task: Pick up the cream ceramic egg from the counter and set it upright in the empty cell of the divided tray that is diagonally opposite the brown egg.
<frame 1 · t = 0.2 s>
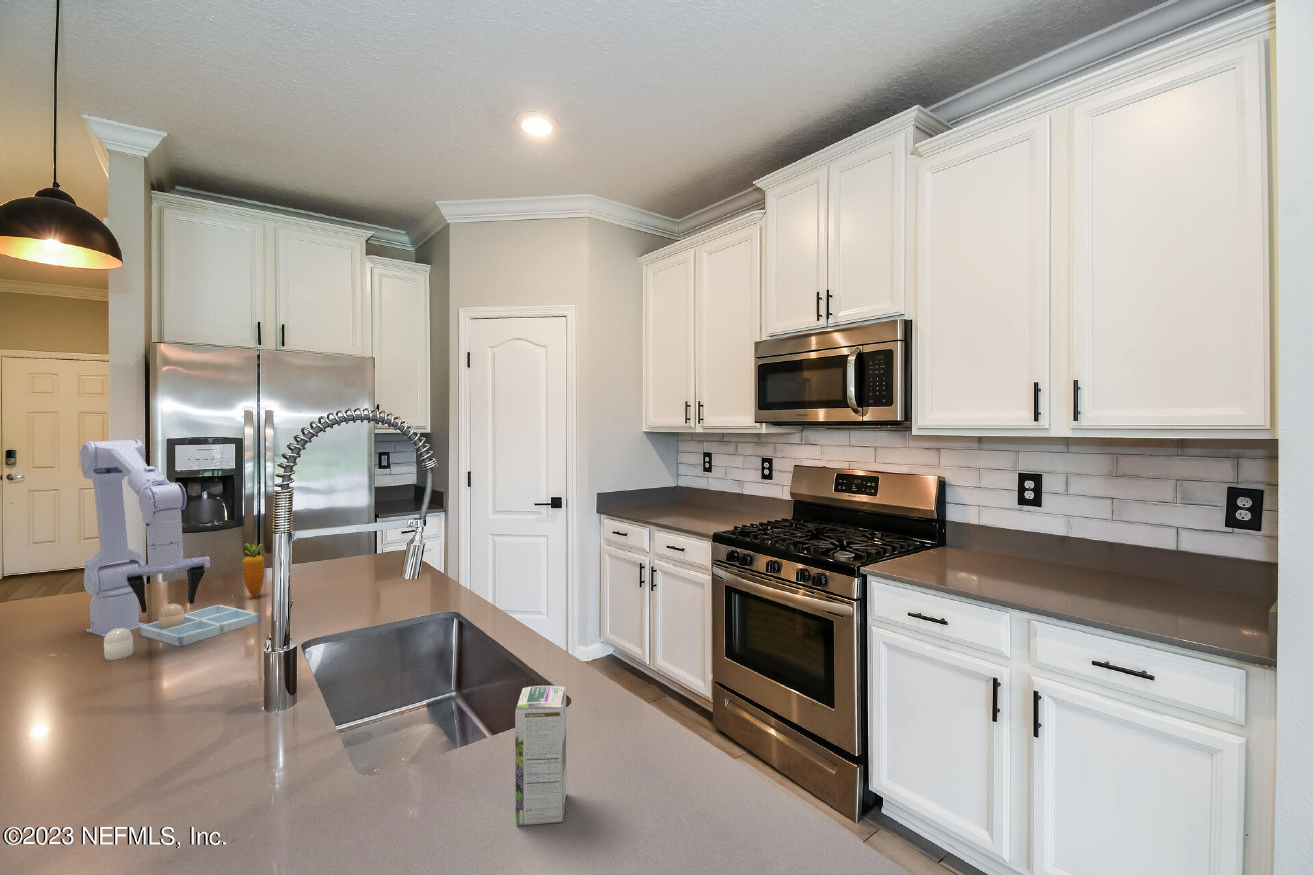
hand: (168, 607, 125), 10 cm above the counter, tool pointing down, fingers open, 7 cm apart
divided tray: (201, 630, 138), on the counter
cream egg: (119, 658, 123), on the counter
brown egg: (172, 631, 136), point 1 cm above the counter, touching divided tray
syrup box: (542, 810, 75), on the counter
carrot: (255, 598, 162), on the counter
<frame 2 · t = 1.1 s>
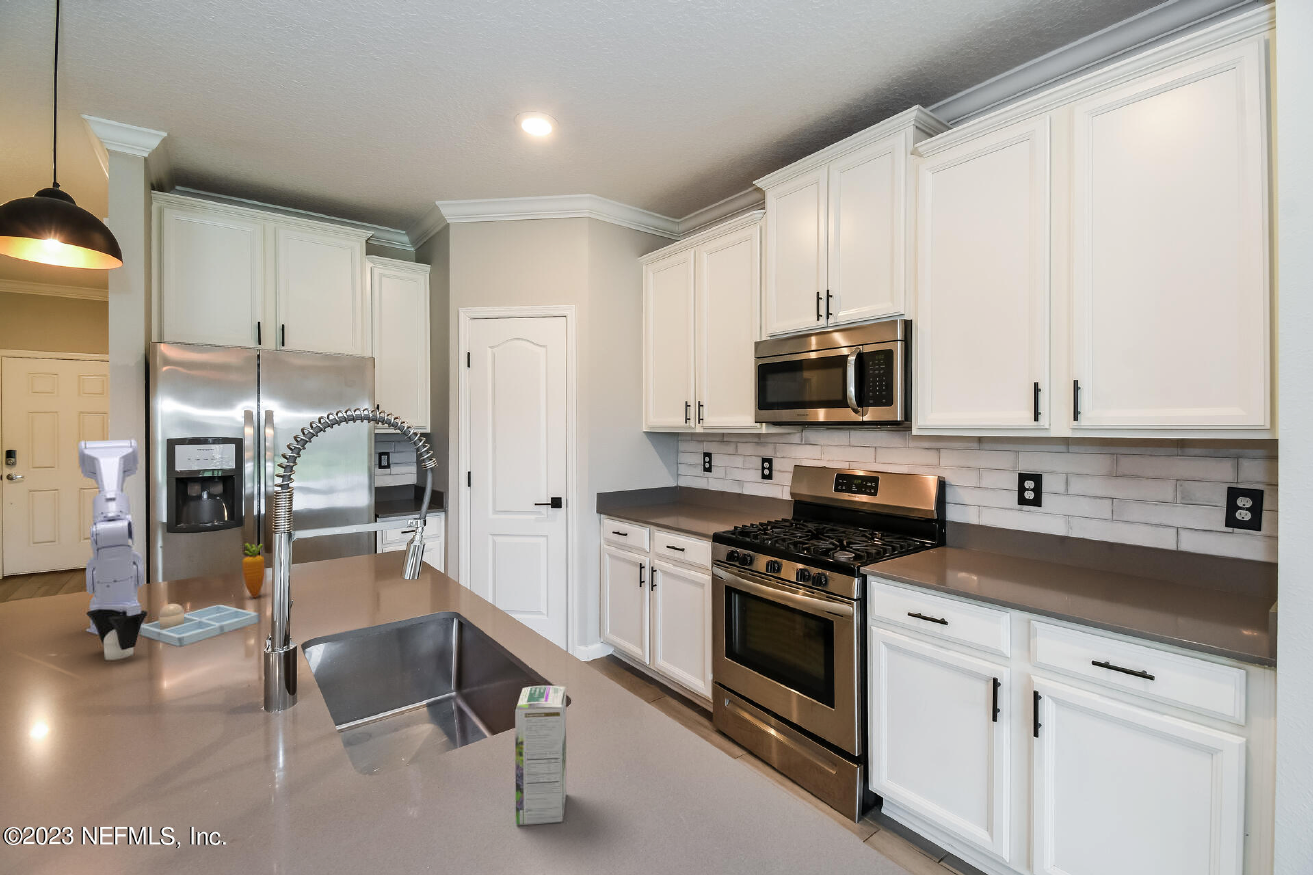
hand: (118, 645, 123), 3 cm above the counter, tool pointing down, fingers open, 7 cm apart
nothing on the counter moved.
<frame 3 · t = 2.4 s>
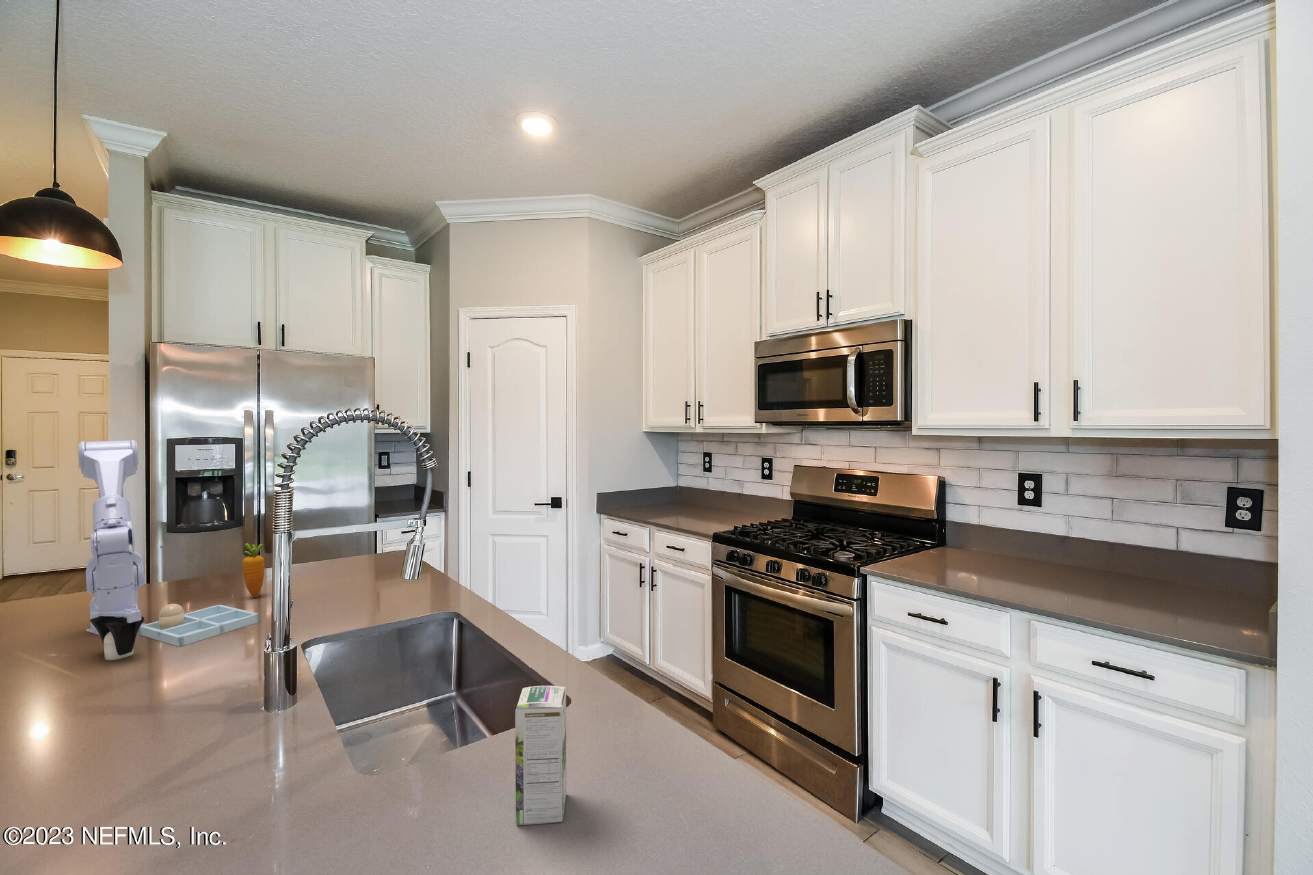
hand: (119, 651, 123), 1 cm above the counter, tool pointing down, fingers closed on cream egg, 4 cm apart
cream egg: (119, 658, 123), on the counter, touching gripper
everything else where it was.
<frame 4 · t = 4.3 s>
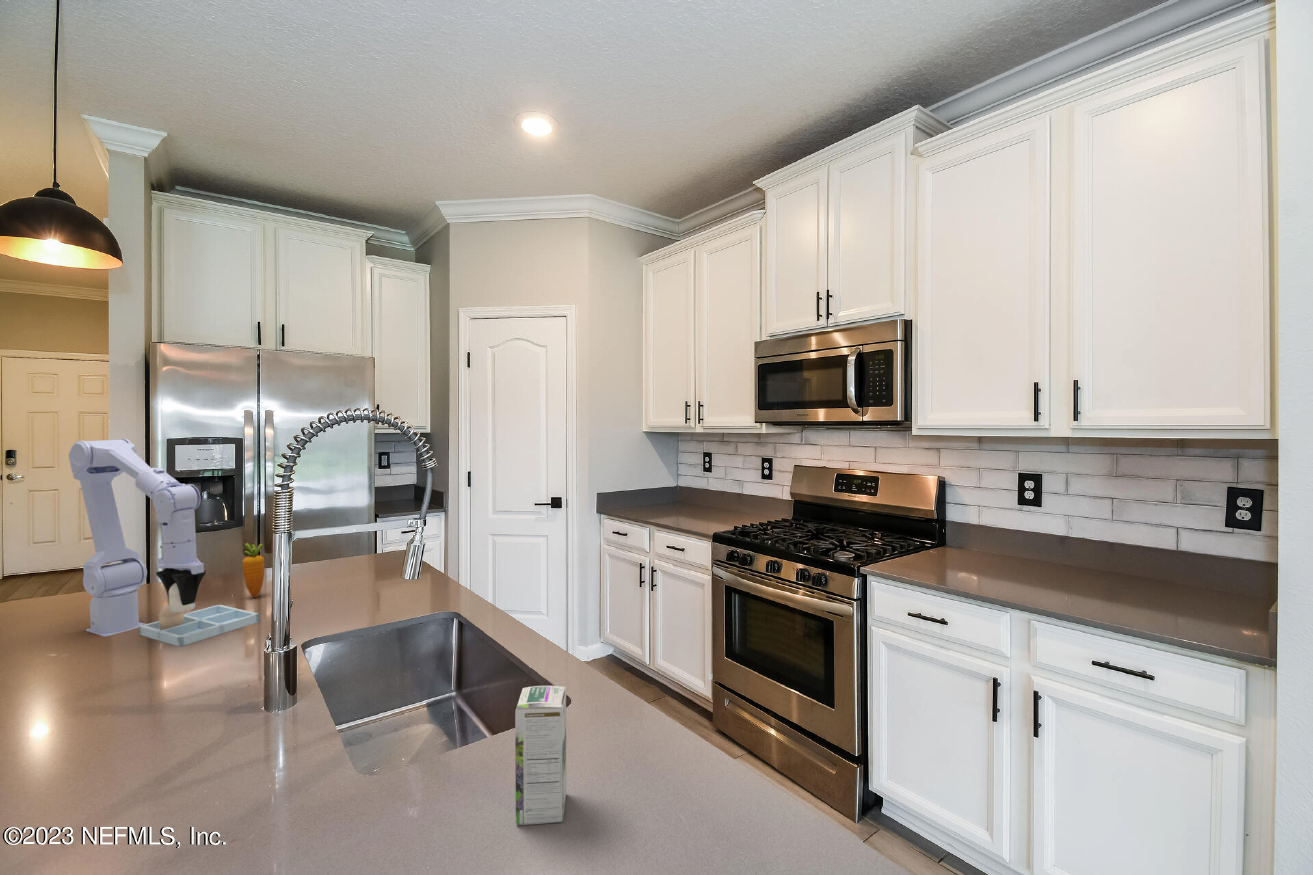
hand: (182, 602, 132), 8 cm above the counter, tool pointing down, fingers closed on cream egg, 4 cm apart
cream egg: (182, 608, 132), point 7 cm above the counter, touching gripper
everything else where it was.
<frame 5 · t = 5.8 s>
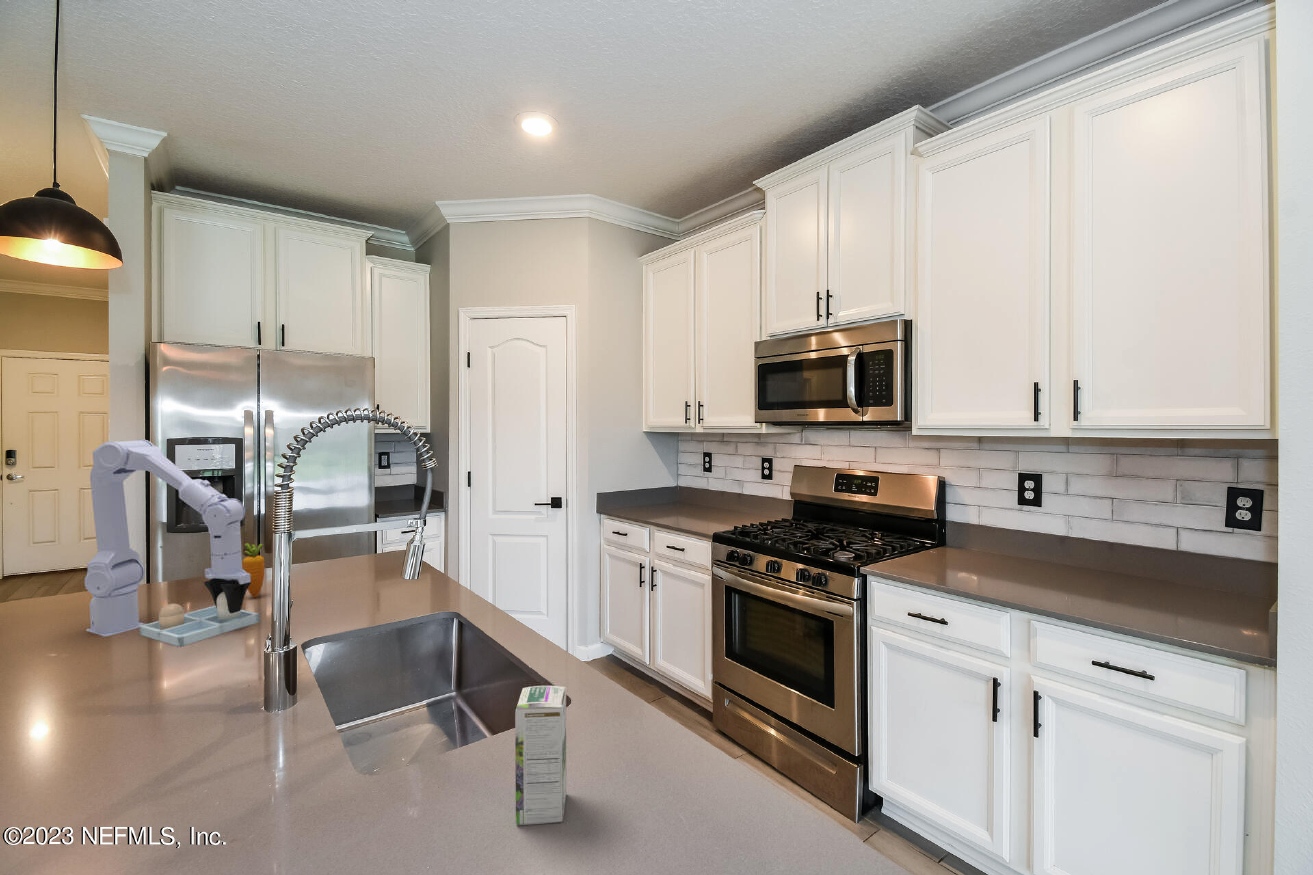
hand: (228, 610, 140), 4 cm above the counter, tool pointing down, fingers closed on cream egg, 4 cm apart
cream egg: (229, 616, 140), point 3 cm above the counter, touching gripper
everything else where it was.
when the fingers open (4 cm above the counter, at t = 6.6 s): cream egg drops 2 cm, resting on divided tray.
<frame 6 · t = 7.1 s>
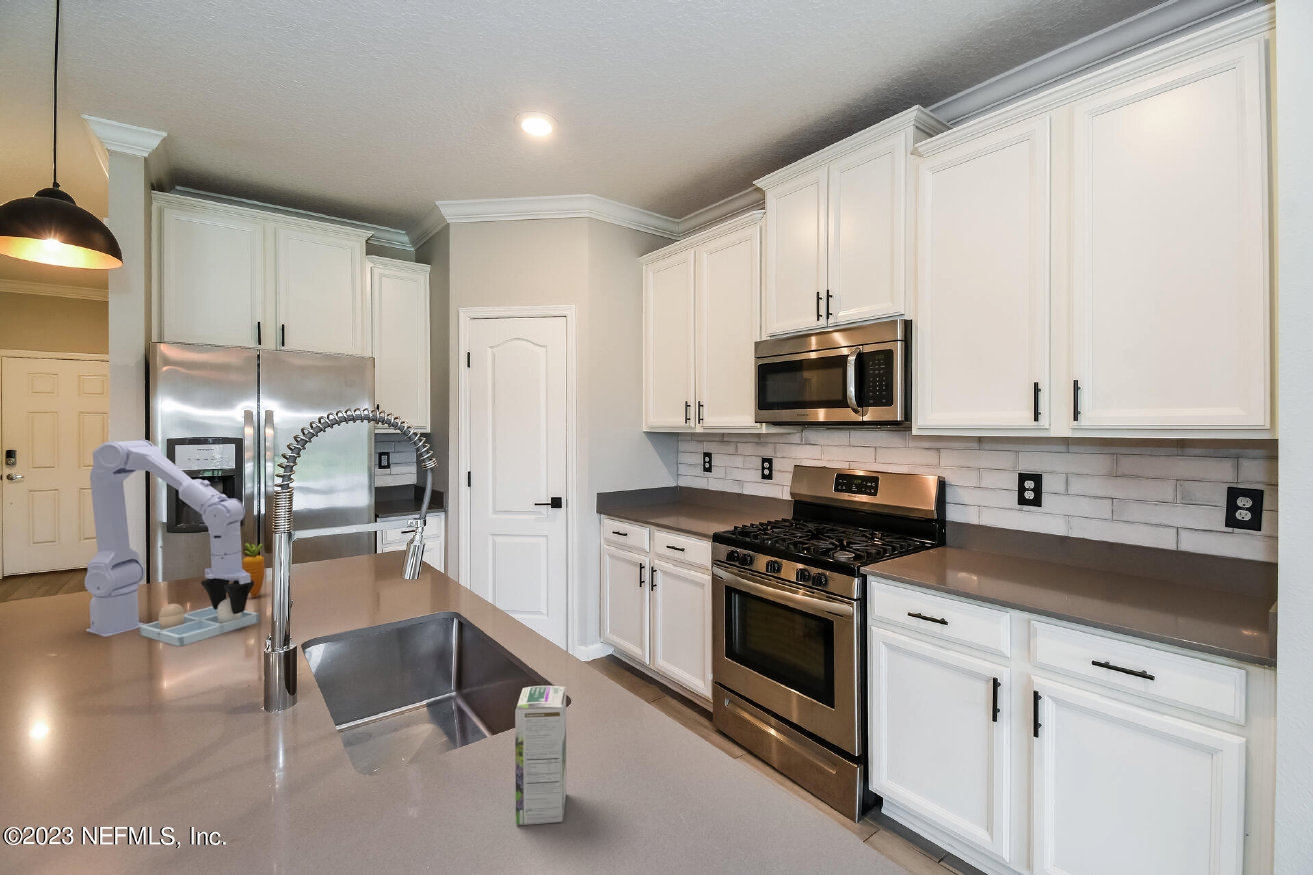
hand: (228, 610, 140), 4 cm above the counter, tool pointing down, fingers open, 7 cm apart
cream egg: (229, 624, 140), point 1 cm above the counter, touching divided tray
everything else where it was.
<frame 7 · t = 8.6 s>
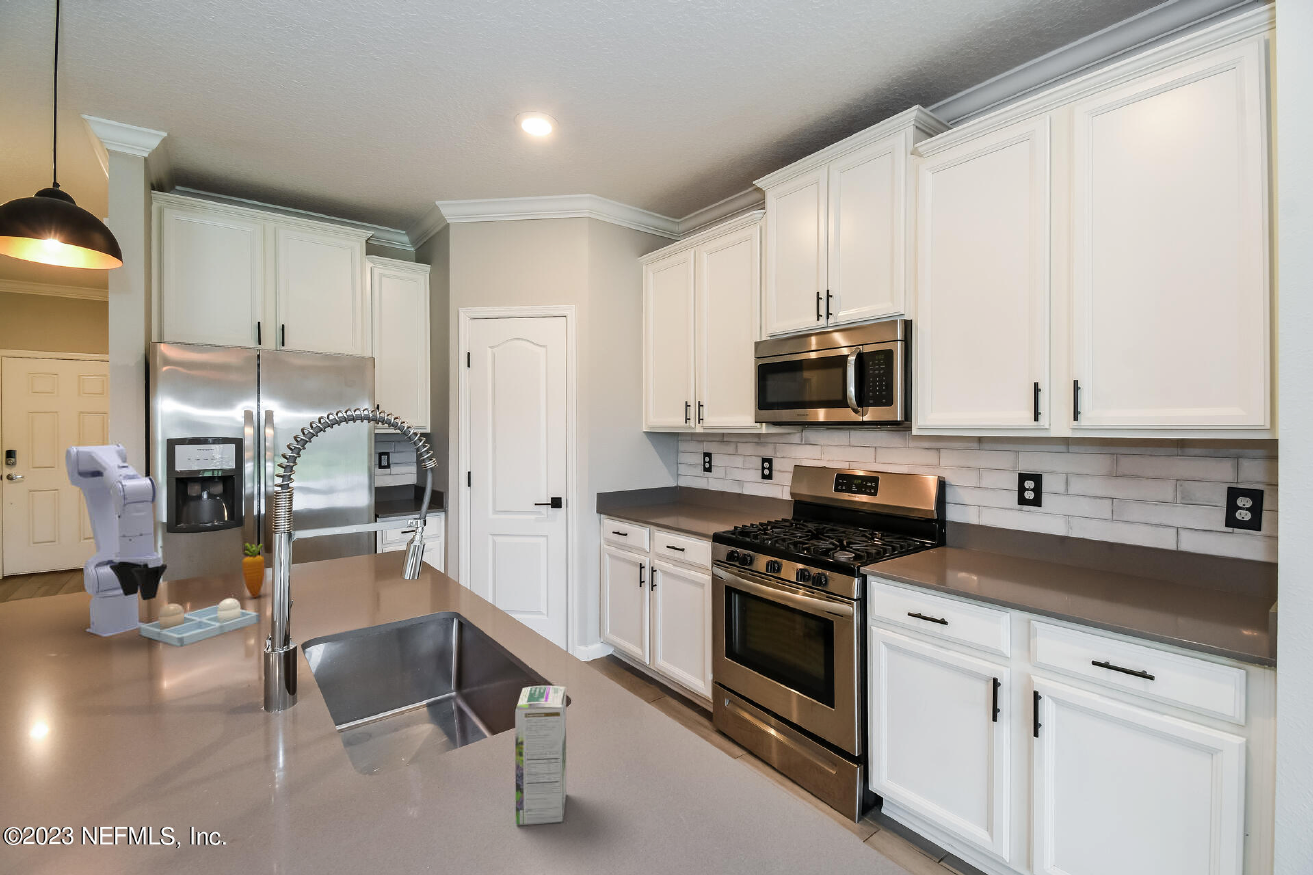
hand: (139, 596, 130), 10 cm above the counter, tool pointing down, fingers open, 7 cm apart
nothing on the counter moved.
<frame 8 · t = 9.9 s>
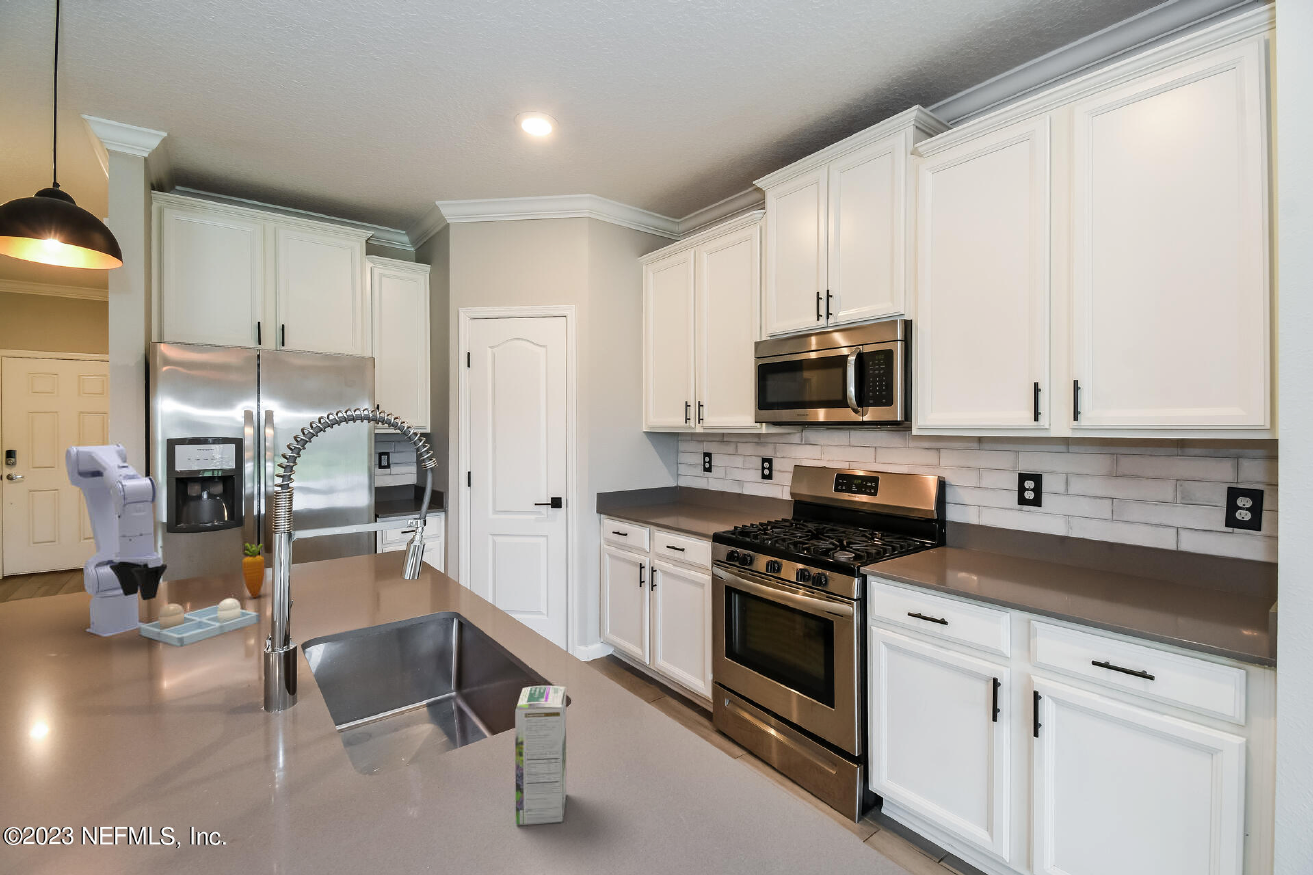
hand: (139, 596, 130), 10 cm above the counter, tool pointing down, fingers open, 7 cm apart
nothing on the counter moved.
at the end: cream egg 0.1 cm from the target spot on the divided tray, point 0.6 cm above the divided tray's base; cream egg tilted 0°; the gripper is holding nothing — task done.
